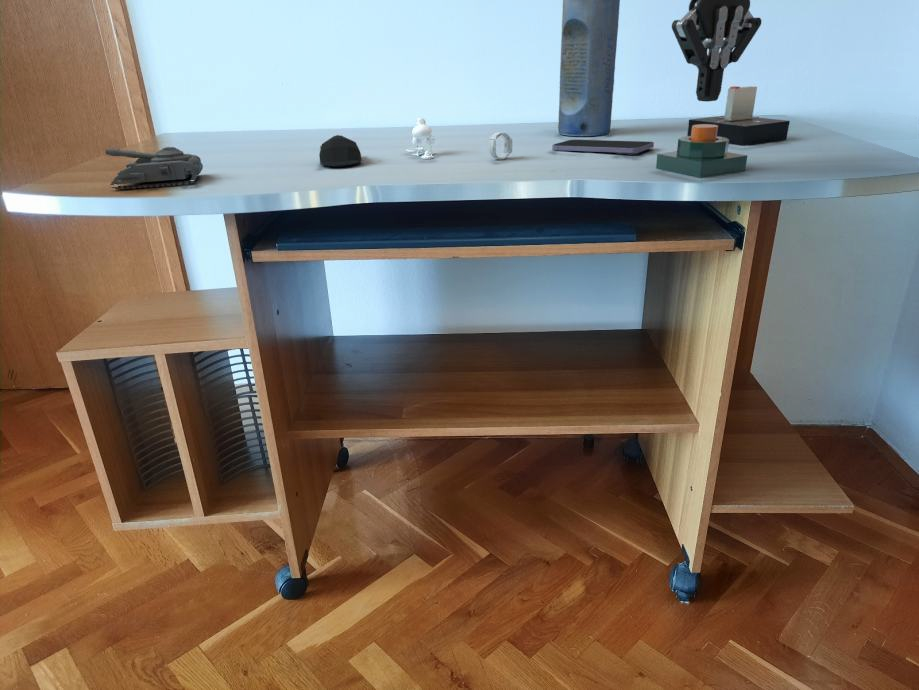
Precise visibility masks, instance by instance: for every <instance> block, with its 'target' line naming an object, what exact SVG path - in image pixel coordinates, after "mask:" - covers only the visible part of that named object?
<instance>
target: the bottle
mask: <svg viewBox="0 0 919 690" xmlns="http://www.w3.org/2000/svg"><path fill="white" fill-rule="evenodd" d="M620 4H621V0H562V16H561V18H562V19H561V38H560V39H561V40H560V62H559V63H560V65H559V66H560V67H559V95H558V96H559V100H558V101H559V102H558V103H559V104H558V125H557V131H558V134H560V135H563V136H567V137H595V136H597V137H598V136H604V135H608V134H609V133H610V132H611V127H612V126H611V125H612V110H613V100H614V99H613V97H614V85H615V71H616V59H617V58H616V57H617V45H618V32H619V20H620V19H619V18H620V6H621V5H620Z"/></svg>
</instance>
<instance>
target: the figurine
mask: <svg viewBox="0 0 919 690" xmlns="http://www.w3.org/2000/svg"><path fill="white" fill-rule="evenodd" d="M415 122H416V123H415V124H416V125H415V126H414V127H413V129H412V131H411V135H412V139H411V141H412V144H413V146H416V147H409V148H406V152H407V153H411V156H417V157H419V156H421V159H424V160H430V159H433V158H434V155H436V154H437V152H433V150H432V145H434V144H435V143H436V139H435V136H434V135H432V133H433V130H432V128H431V127H430V126H429V125H427V124H426V119H425V118H423V117H418V118H417V119H416V121H415ZM423 141H425V143H426V144H427V145H428V146H429V150H426V151H424V147H419V146H420V145H421V144H422V143H423ZM419 152H420V153H419ZM423 152H424V154H423Z"/></svg>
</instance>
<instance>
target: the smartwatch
mask: <svg viewBox="0 0 919 690" xmlns="http://www.w3.org/2000/svg"><path fill="white" fill-rule="evenodd" d="M500 136H502V152H503V153H502V154H501V155H500V156H498V155H497V149H496V147H497V146H496V144H497V143H496V142H497V139H498V138H499V137H500ZM487 150H488V153H489V155H490V156H491V158H493V159H495V160H498V161H499V160H500V161H502V160H505V159H507V158H508V157H509V155H511V154H512V153H513V137H511V136H510V135H509V134H508V133H506V132H502V131H496V132H494V133H492V134H491V136H490V137H489V140H488V144H487Z"/></svg>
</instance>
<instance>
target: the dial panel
mask: <svg viewBox="0 0 919 690" xmlns="http://www.w3.org/2000/svg"><path fill="white" fill-rule="evenodd" d="M724 117H725V115H716V116H709V117H699V118H692V119H688V126H687V134H686V137H687V136H691V131H692V126H693V125H698V124H711V125H717V126H718V132H717V136H718V137H725V138H727V139H729V144H728V145H733V146H740V147H745V146H753V145H760V144H767V143H775V142H780V141H781V142H782V141H787V138H788V135H789V134H788V133H789V127H790V122H791V121H790V120H788V119H787V120H786V119H776V118H769V117H768V118H767V117H760V116H753V117H752V119H747V120H738V121H724Z"/></svg>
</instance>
